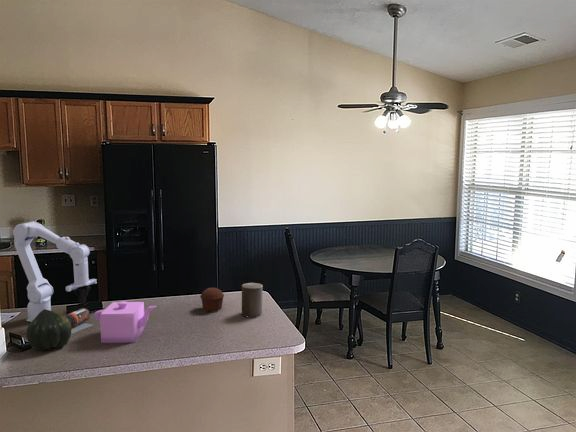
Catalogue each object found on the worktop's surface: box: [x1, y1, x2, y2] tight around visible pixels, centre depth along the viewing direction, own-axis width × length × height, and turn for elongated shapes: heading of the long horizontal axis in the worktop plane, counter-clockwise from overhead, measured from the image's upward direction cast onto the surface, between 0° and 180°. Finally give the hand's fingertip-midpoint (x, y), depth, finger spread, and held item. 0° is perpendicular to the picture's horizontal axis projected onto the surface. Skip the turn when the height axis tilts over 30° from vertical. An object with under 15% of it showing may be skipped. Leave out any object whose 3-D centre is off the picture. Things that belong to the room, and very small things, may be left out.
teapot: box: [93, 300, 157, 344], centre depth 183 cm, size 15×25×14 cm, turn 93°
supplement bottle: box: [65, 307, 91, 327], centre depth 193 cm, size 6×6×11 cm
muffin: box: [200, 287, 225, 313], centre depth 216 cm, size 12×11×10 cm
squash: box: [26, 309, 72, 351], centre depth 172 cm, size 14×15×15 cm
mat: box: [71, 322, 94, 335], centre depth 191 cm, size 16×15×1 cm
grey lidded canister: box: [241, 282, 264, 318], centre depth 209 cm, size 10×10×15 cm
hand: (82, 303), depth 198 cm, fingers closed
